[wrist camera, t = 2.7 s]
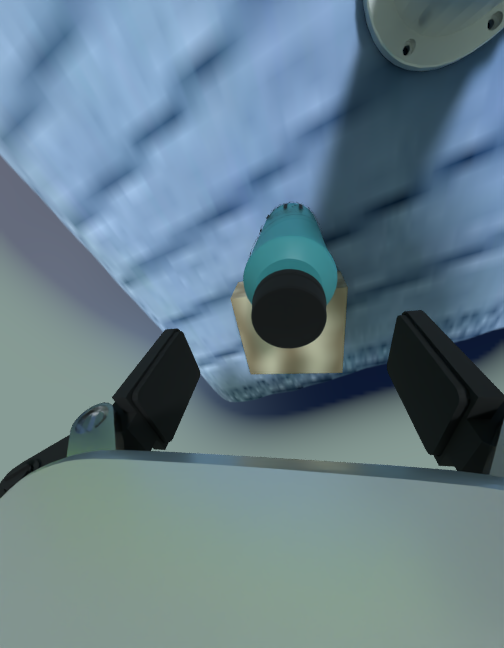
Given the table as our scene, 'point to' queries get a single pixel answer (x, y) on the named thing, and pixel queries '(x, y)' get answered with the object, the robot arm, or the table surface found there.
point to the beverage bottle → (290, 278)
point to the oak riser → (305, 359)
